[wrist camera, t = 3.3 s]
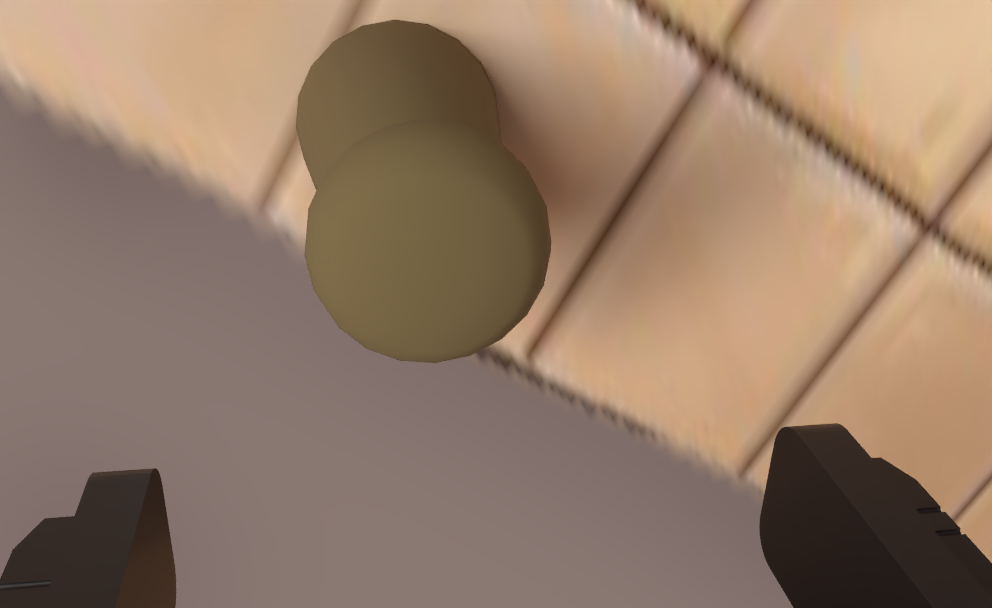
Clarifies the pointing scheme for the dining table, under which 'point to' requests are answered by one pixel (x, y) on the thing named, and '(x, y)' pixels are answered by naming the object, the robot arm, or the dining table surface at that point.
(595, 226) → the dining table surface
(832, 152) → the dining table surface
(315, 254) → the olive pepper mill
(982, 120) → the dining table surface
